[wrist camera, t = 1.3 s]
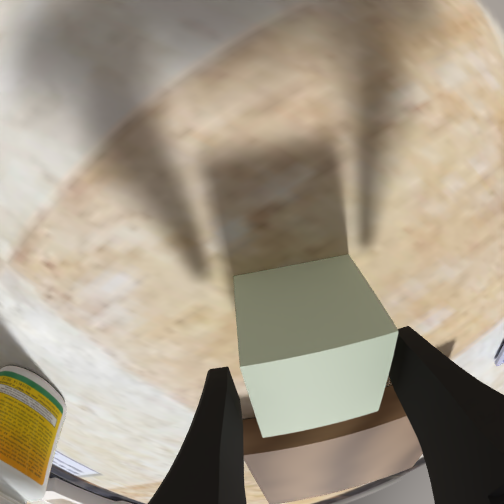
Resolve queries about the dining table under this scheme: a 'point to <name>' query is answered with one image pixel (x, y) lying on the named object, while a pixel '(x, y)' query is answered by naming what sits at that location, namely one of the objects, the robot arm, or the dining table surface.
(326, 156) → the dining table surface
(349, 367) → the sage block
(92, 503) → the holder
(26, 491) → the supplement bottle
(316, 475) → the walnut base
